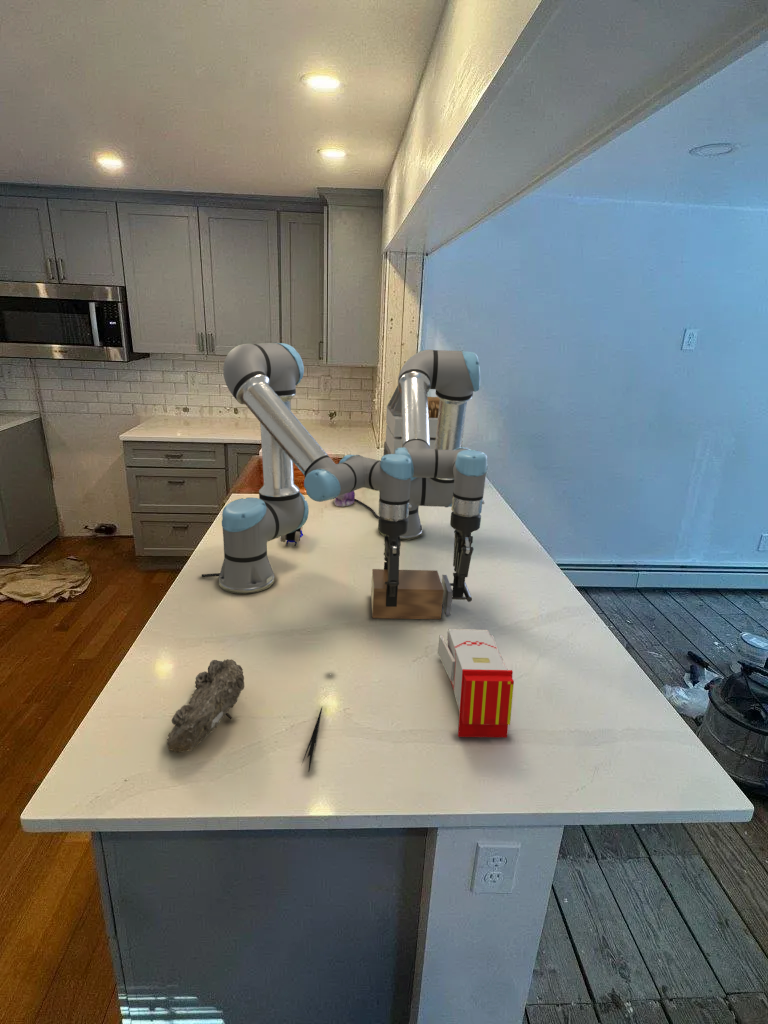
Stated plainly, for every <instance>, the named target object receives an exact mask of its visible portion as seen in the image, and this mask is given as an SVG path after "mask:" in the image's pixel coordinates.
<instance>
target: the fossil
mask: <svg viewBox="0 0 768 1024" xmlns="http://www.w3.org/2000/svg"><path fill="white" fill-rule="evenodd" d="M243 670H244V669H243V667H242V665H240V664H237V662H236V661H235V660H234V659H232V658H231V659H227V658H226V659H224V660H223V661H222V660H217V659H212V660H211V661H210V663H209V665H208V666H207V671H201V672H199V673H198V674H197V675H196V676H195V680H194V684H195V685H194V687H195V689H194V690H193V693H192V694H191V697H190V698H189V700H188V704H184V705H182V706H181V707H180V709H177V710H176V711H175V713H174V715H173V716H172V718H171V723H172V724H173V727H172V730H171V731H170V732H168V734H167V738H166V741H167V742H166V745H167V749H168V750H169V751H173V752H174V753H176V754H178V753H182V752H188V751H189V752H192V751H193V750H195V748H196V747H197V746H199V744H200V743H201V742H203V741H204V740H205V739H206V738H207V737H208V736H209V735H210V734H211V733H212V732H214V730H215V729H217V727H218V726H219V724H220V722H221V721H222V720H223V719H224V718H225V716H226V717H227V719H229V720H233V717H232V715H230V714H229V710H230V709H231V708H234V706H235V704H236V703H237V702H238V699H239V697H240V695H241V693H242V691H243V690H245V689H244V688H245V675H244V671H243Z"/></svg>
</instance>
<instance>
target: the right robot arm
mask: <svg viewBox="0 0 768 1024" xmlns="http://www.w3.org/2000/svg"><path fill="white" fill-rule="evenodd" d="M397 379H398V380H397V386H398V389H399V391H400V392H401V394H402V448H397V449H396V450H395V454H401V455H405V456H407V457H409V458H410V460H411V473H412V477H411V483H410V496H409V497H410V498H409V504H411V506H412V507H411V508H408V509H409V515H408V517H407V518H408V531H407V533H406V534H404V535H400V540H401V541H410V540H415V539H418V538H420V537H421V536H422V535H423V525H422V524H421V518H420V515H419V507H441V508H443V507H444V508H451V509H450V510H451V513H450V521H449V525H450V527H451V528H452V529H454V530H453V533H454V539H453V540H454V543H453V561H452V562H453V563H452V566H453V571H454V572H453V573H452V577H453V580H452V583H453V586H452V591H453V596H452V597H464V584H465V583H466V578H468V577H469V571H470V565H471V559H472V555H473V552H474V547H473V546H472V544H473V541H474V537H473V535H472V533H473V532H476V531H477V532H478V530H479V529H480V528H481V521H482V515H481V513H482V509H483V505H485V502H486V501H485V500H484V493H485V485H486V479H487V477H486V476H487V471H488V456H487V453H485V452H482V451H480V450H475V449H470V448H469V447H465V446H462V447H461V443H462V441H463V438H462V435H463V436H464V432H463V427H464V428H465V421H464V420H465V419H466V412H467V405H468V402H469V401H470V400H472V398H473V395H474V393H476V392H479V391H480V388H481V387H480V386H481V368H480V360H479V357H478V355H477V353H476V352H473V351H466V350H446V349H444V350H442V349H424V350H420V351H418V352H416V353H414V354H413V355H411V356H410V357H409V358H408V359H407V360H406V361H405V363H404V364H403V365H402V367H401V368H400V371H399V373H398V378H397ZM430 390H435V397H438V398H439V399H440V402H439V411H438V421H437V431H436V440H435V449H430V440H429V418H428V397H429V396H428V393H429V391H430ZM462 444H463V443H462ZM303 476H304V475H303ZM303 478H305V476H304V477H303ZM354 502H355V503H357V504H359V505H361V506H363V507H365V508H366V509H368V510H369V511H370V512H371V513H372V514H373V516H374V517H375V518H377V519H378V520H379V517H380V516H379V515H378V514H377V513H376V512H375V510H374V509H373V508H372V507H370V506H369V505H367V504H366V503H364V502H362V501H361V500H358V499H357V498H355V499H354ZM379 534H380V535H381V536H382V537H384V536H386V535H384V534H382V533H380V532H379Z"/></svg>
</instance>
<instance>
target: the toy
mask: <svg viewBox="0 0 768 1024" xmlns="http://www.w3.org/2000/svg"><path fill="white" fill-rule="evenodd" d="M446 640H447V643H446V641H445V639H444V636H443V635H442V634H439V637H438V646H437V656H438V657H439V659H440V661H441V663H442V666H443V668H444V670H445V672H446V674H447V677H448V679H449V681H450V684H451V687H452V690H453V693H454V697H455V701H456V705H457V708H458V711H459V714H458V715H459V716H458V730H457V731H458V732H457V737H458V738H508V731H509V726H510V725H511V717H512V707H513V697H514V696H513V695H514V684H515V680H514V679H513V673H514V671H513V670H512V669H508V667H507V665H506V662H505V661H504V659H503V658H502V655H501V653H500V651H499V649H498V647H497V643H496V639H495V637H494V635H493V634H491V632H490V631H489V629H467V628H466V629H465V628H463V629H461V628H460V629H459V628H448V630H447V639H446Z"/></svg>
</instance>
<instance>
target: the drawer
mask: <svg viewBox="0 0 768 1024" xmlns="http://www.w3.org/2000/svg"><path fill="white" fill-rule="evenodd" d="M441 583H442V586H443V590H444V591H443V602H442V608H443V611H444V613H445V616H451V614H452V605H453V601H455V600H457V601H458V600H460V601H467V602H468V603H470V602H472V601H473V597H472V594H471V593H470V591H469V588H468V585H467V583H466V582H465V584H464V594H463V597H453V591H452V590H453V582H450V580H449V577H448V575H447V574H442V575H441Z"/></svg>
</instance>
